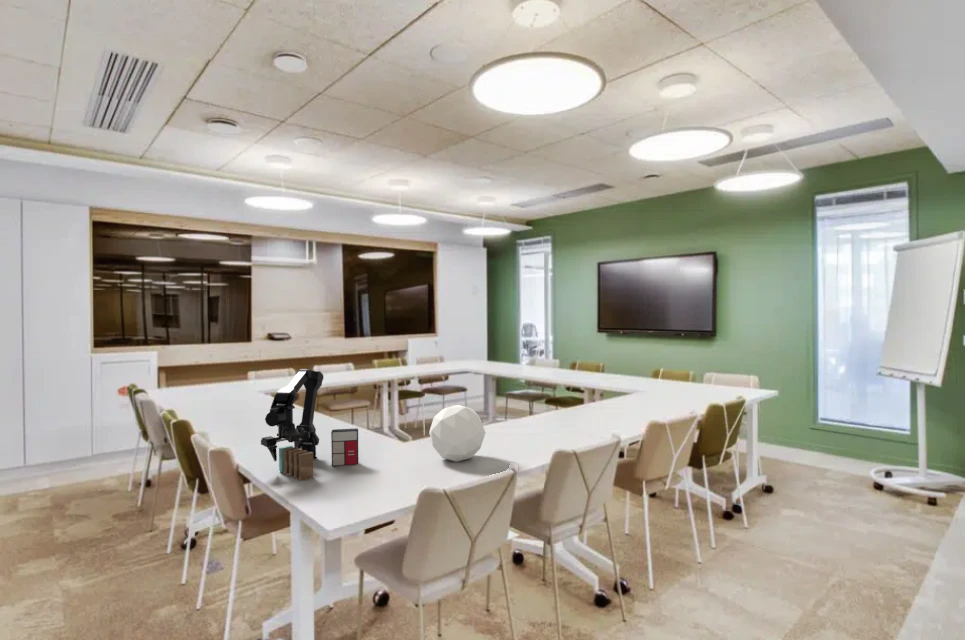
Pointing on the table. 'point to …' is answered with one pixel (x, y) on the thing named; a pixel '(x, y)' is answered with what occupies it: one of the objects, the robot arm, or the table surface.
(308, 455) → the domino
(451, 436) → the geometric sculpture
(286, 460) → the domino
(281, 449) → the domino
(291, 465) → the domino
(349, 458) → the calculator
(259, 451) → the table surface
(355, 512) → the table surface
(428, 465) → the table surface
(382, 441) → the table surface
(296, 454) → the domino
